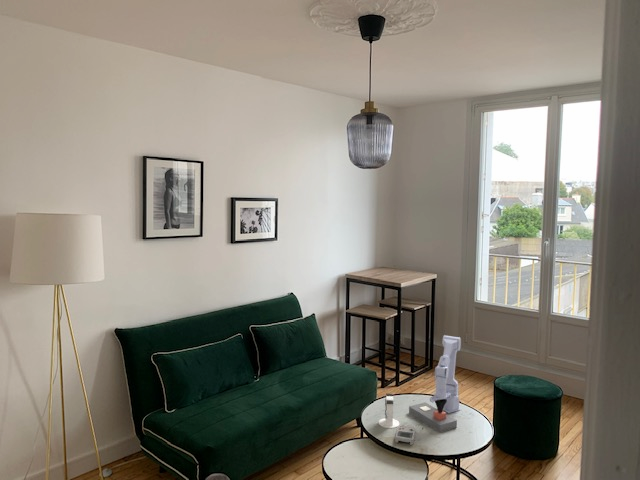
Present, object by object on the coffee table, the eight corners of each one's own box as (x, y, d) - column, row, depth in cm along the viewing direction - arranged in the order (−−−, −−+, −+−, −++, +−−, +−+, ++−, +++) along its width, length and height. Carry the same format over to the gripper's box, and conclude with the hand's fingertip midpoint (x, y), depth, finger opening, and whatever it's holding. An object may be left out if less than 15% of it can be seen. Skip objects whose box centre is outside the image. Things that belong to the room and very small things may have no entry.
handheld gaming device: (415, 433, 259) (415, 426, 259) (412, 446, 245) (412, 439, 245) (398, 430, 262) (398, 424, 261) (395, 444, 248) (395, 436, 247)
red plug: (433, 418, 269) (433, 411, 269) (439, 416, 272) (440, 409, 271) (439, 421, 265) (439, 414, 265) (445, 420, 268) (446, 413, 267)
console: (408, 412, 283) (409, 406, 282) (424, 408, 288) (425, 402, 288) (439, 432, 260) (440, 425, 259) (456, 427, 266) (456, 420, 265)
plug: (419, 414, 280) (419, 407, 280) (425, 412, 282) (425, 405, 282) (424, 417, 276) (424, 410, 276) (431, 415, 278) (431, 409, 278)
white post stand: (378, 417, 276) (379, 392, 275) (398, 418, 275) (399, 393, 274) (379, 427, 264) (379, 400, 263) (400, 428, 263) (400, 402, 262)
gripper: (444, 383, 274) (443, 406, 275) (426, 388, 266) (425, 411, 268) (454, 387, 268) (453, 410, 269) (435, 392, 260) (434, 416, 262)
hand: (439, 411), depth 268 cm, fingers closed
